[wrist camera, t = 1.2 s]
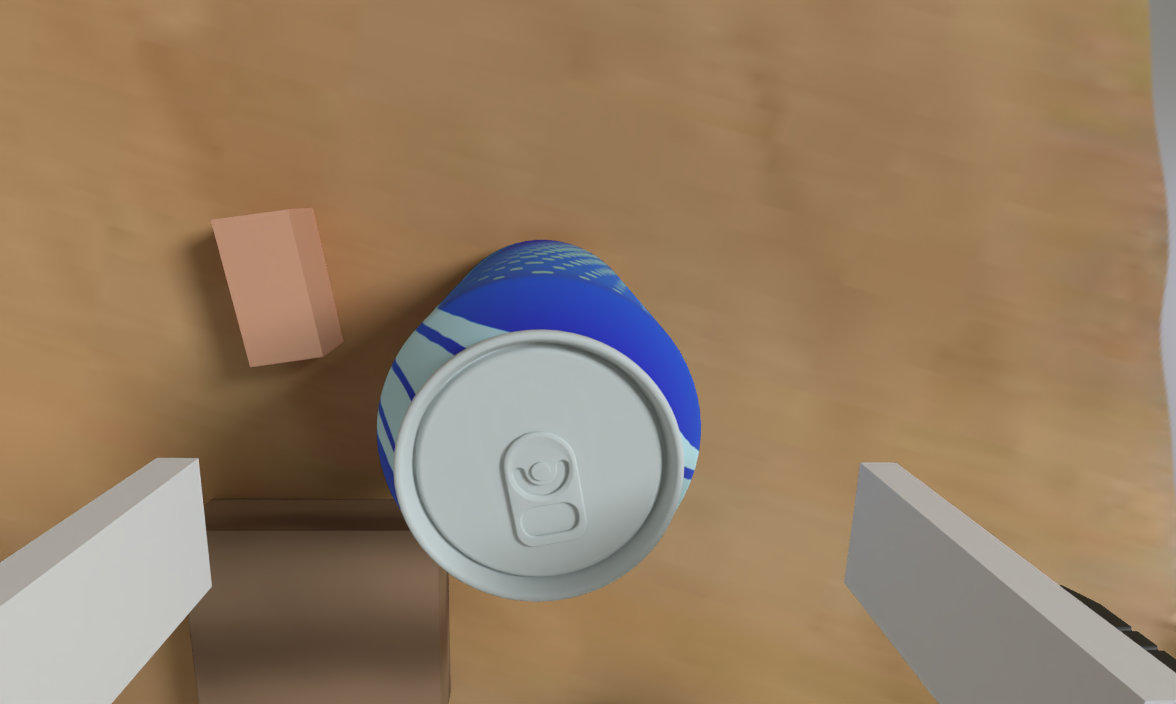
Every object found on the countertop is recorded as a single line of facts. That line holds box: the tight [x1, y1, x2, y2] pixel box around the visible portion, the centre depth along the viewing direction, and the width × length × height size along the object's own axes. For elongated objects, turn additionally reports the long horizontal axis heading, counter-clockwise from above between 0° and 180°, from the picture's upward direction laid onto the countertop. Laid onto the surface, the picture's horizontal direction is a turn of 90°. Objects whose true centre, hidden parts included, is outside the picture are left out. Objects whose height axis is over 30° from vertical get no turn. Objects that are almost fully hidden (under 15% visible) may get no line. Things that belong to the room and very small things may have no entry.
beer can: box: [377, 240, 701, 602], centre depth 23 cm, size 8×8×16 cm
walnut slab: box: [188, 499, 450, 704], centre depth 32 cm, size 11×11×3 cm
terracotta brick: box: [211, 208, 344, 367], centre depth 28 cm, size 6×3×3 cm, turn 7°
